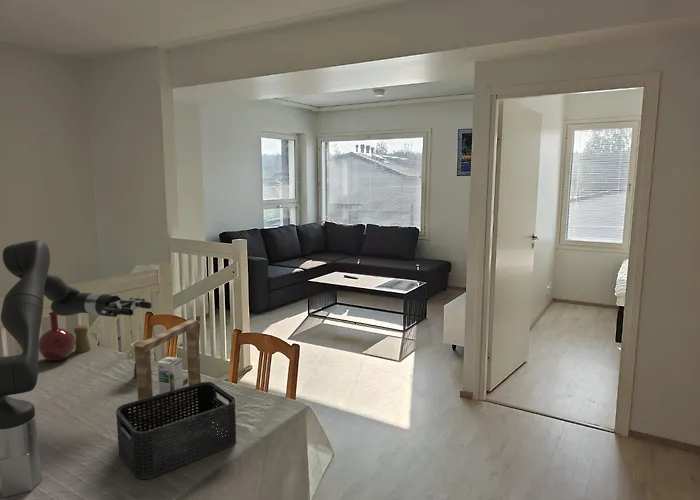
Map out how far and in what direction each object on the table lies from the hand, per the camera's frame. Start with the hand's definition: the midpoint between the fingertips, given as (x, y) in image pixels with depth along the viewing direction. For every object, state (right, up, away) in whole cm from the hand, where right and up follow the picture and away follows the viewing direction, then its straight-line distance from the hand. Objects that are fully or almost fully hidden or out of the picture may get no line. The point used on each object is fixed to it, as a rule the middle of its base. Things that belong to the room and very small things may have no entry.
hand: (141, 308), depth 162 cm
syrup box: (+9, -32, +2) cm, 33 cm away
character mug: (-10, -29, +23) cm, 38 cm away
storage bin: (+21, -37, -24) cm, 49 cm away
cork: (-47, -24, +50) cm, 73 cm away
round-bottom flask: (-52, -26, +40) cm, 70 cm away
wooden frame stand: (+10, -32, +2) cm, 34 cm away
